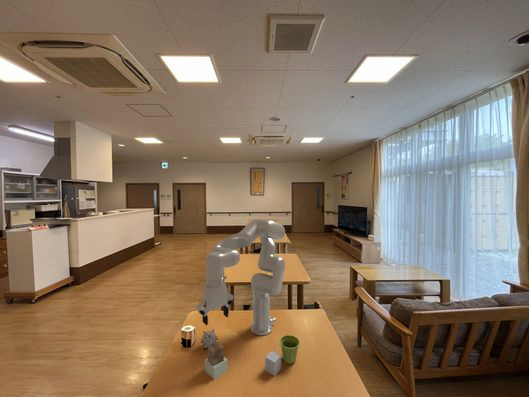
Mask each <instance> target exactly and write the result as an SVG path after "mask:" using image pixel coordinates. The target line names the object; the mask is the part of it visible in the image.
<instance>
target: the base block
mask: <svg viewBox="0 0 529 397" xmlns="http://www.w3.org/2000/svg"><path fill="white" fill-rule="evenodd" d="M228 360H229V359H228V358H226V356H224V361H222V362H220V363H218V364H216V365H214V366H213V365H212V364H211V363H210V361H209V360H208V357H207V358H206V359H205V360H204V372H205V373H206V374H207V375H208V376H209V377H211V378H212V379H213V380H216V379H218V378H219V377H220V376H222V375H223V374H224V373H225V372H227V371H228V363H229V362H228Z"/></svg>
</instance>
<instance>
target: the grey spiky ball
mask: <svg viewBox="0 0 529 397" xmlns="http://www.w3.org/2000/svg"><path fill="white" fill-rule="evenodd" d="M214 331H215V329H213V330H209V331H205V330H204V331H203V335H202V338H201V339H200V343H202V345H203V347H204V349H203V351H204V350H206V349H208V346H209V345H211V344H214V343H216V342H217V340H219V338H218V336H216V333H215V332H214Z"/></svg>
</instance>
